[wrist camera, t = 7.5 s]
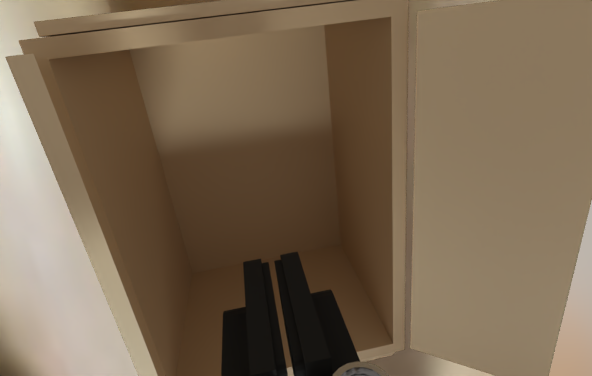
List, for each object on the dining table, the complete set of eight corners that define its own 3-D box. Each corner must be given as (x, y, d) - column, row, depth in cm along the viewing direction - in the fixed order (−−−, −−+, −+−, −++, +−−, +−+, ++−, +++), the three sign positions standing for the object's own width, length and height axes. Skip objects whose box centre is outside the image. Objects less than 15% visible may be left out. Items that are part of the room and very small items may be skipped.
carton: (346, 250, 27) (404, 356, 18) (188, 281, 26) (165, 411, 17) (330, 3, 21) (408, -22, 12) (114, 29, 19) (11, 23, 10)
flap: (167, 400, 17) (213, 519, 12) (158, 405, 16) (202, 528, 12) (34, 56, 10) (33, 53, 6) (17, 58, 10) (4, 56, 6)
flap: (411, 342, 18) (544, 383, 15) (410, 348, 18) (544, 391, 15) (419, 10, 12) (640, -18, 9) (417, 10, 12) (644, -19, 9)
